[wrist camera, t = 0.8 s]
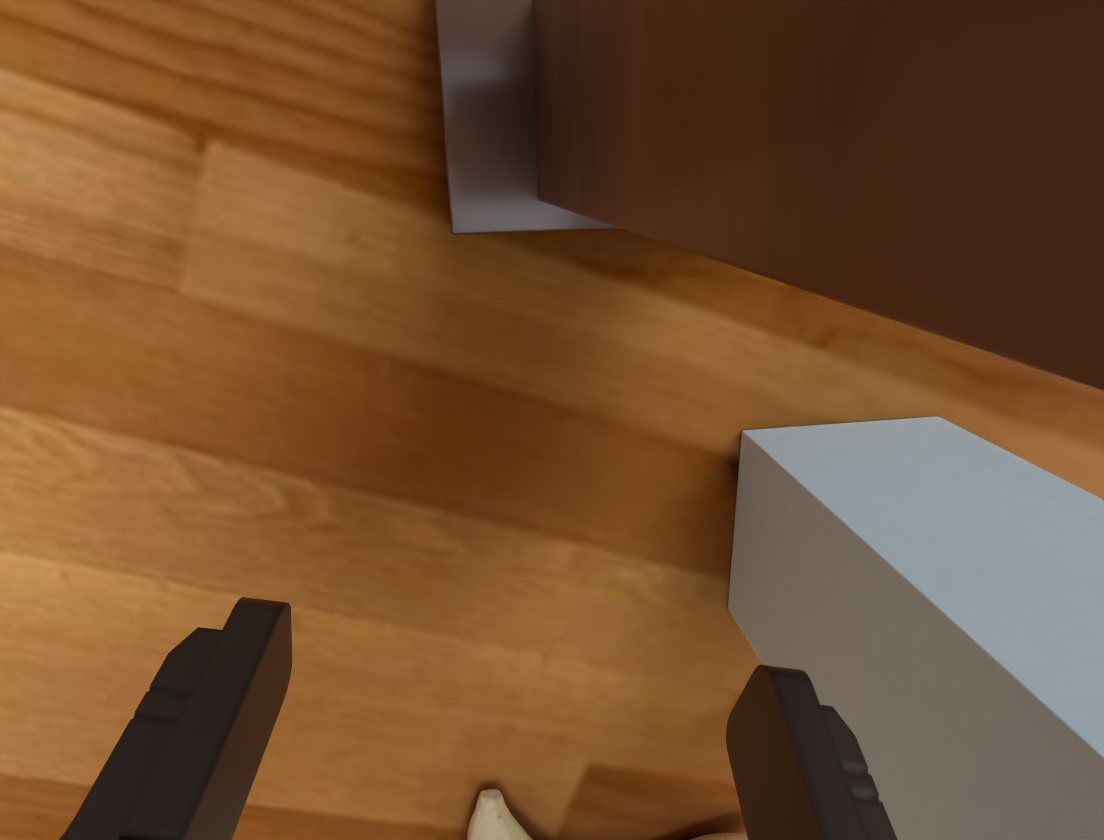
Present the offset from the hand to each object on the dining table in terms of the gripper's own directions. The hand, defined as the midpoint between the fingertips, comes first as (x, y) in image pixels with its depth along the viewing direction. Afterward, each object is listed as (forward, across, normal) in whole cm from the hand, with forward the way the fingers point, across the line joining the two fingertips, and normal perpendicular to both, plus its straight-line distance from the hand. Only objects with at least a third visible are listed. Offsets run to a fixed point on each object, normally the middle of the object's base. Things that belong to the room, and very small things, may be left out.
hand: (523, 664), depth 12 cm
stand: (+18, -2, -7) cm, 19 cm away
